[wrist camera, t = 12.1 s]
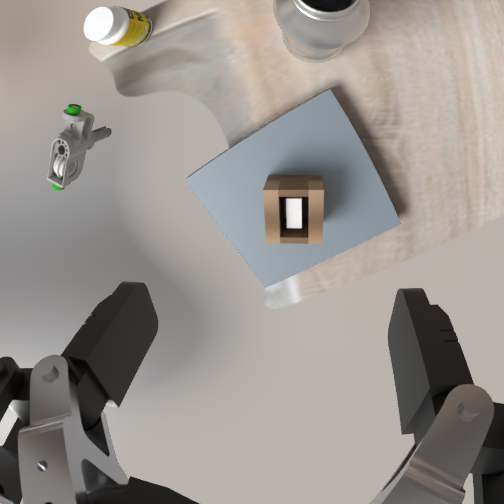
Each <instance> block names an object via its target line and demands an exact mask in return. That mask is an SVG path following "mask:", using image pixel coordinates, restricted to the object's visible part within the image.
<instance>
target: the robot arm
mask: <svg viewBox="0 0 504 504" xmlns="http://www.w3.org/2000/svg"><path fill="white" fill-rule="evenodd" d="M157 330H158V318H157V314H156V312H155V309H154V306H153V303H152V300H151V298H150V294H149V292H148V289H147V287H146V285H145V284H144V283H139V282H122V283H121V284H120V285H119V286H118V287H117V289H116V290H115V291H114V292H113V294H112V295H110V296H108V297H107V298H106V299H104V300H103V301H102V302H100V303H99V304H98V305H97V307H96V308H95V309H94V310H93V312H92V313H91V316H89V317H88V318H87V320H86V321H85V324H84V325H82V327H81V328H80V329H79V331H78V332H77V333H76V335H75V336H74V338H73V339H72V340H71V342H70V343H69V344H68V346H67V347H66V349H65V350H64V352H63V353H62V354H61V356H59V355H51V356H48V357H45V358H43V359H42V360H40V361H39V362H38V363H37V364H36V366H35V367H34V368H19V367H18V365H17V364H16V362H15V361H14V360H13V358H11V357H2V358H0V421H1V419H2V418H3V416H4V414H5V412H6V410H7V408H8V407H9V408H10V409H11V410H12V411H13V412H14V413H15V415H16V416H18V418H17V420H16V422H15V424H14V426H13V428H12V430H11V431H10V433H9V435H8V437H7V439H6V441H5V443H4V445H3V446H0V504H20V502H21V499H22V497H23V504H199V503H197V502H195V501H192V500H191V499H189V498H187V497H185V496H183V495H181V494H179V493H177V492H175V491H173V490H171V489H169V488H167V487H164V486H160V485H157V484H153V483H149V482H147V481H143V480H140V479H137V478H134V477H131V476H130V478H129V480H128V478H127V476H126V474H125V473H124V471H123V470H122V468H121V467H120V465H119V463H118V461H117V458H116V455H115V451H114V448H113V444H112V440H111V436H110V432H109V428H108V424H107V419H106V415H105V413H104V411H103V409H104V407H105V405H109V406H113V407H116V408H119V406H120V404H121V402H122V400H123V398H124V396H125V394H126V392H127V390H128V388H129V386H130V384H131V382H132V380H133V378H134V376H135V374H136V372H137V370H138V368H139V367H140V365H141V363H142V361H143V359H144V357H145V355H146V353H147V351H148V349H149V347H150V345H151V343H152V342H153V340H154V338H155V336H156V333H157ZM388 346H389V351H390V356H391V362H392V367H393V373H394V380H395V386H396V392H397V399H398V407H399V414H400V421H401V431H402V435H403V434H412V433H414V439H415V444H414V445H413V446H412V448H411V449H410V451H409V452H408V454H407V455H406V457H405V458H404V460H403V461H402V462H401V464H400V465H399V467H398V468H397V470H396V471H395V472H394V474H393V475H392V476H391V478H390V479H389V480H388V482H387V483H386V485H385V486H384V487H383V488H382V490H381V491H380V492H379V493H378V494H377V496H376V497H375V498H374V499H373V500H372V501H371V502H370V503H369V504H462V502H463V499H464V497H465V490H464V489H463V485H464V483H465V480H466V478H467V477H468V474H469V473H473V484H474V485H473V486H474V504H504V404H501V403H495V402H493V401H492V399H491V397H490V396H489V394H488V393H487V392H486V391H485V390H484V389H482V388H481V387H479V386H476V385H474V383H473V380H472V377H471V374H470V371H469V368H468V366H467V363H466V360H465V357H464V354H463V351H462V349H461V346H460V344H459V343H458V338H457V336H456V333H455V332H454V328H453V326H452V324H451V321H450V319H449V316H448V315H447V314H446V313H445V312H444V311H443V310H442V309H441V308H440V307H439V306H438V305H430V304H429V301H428V299H427V296H426V294H425V292H424V290H423V289H422V288H411V289H410V288H408V289H399V290H398V291H397V294H396V299H395V303H394V307H393V312H392V316H391V320H390V324H389V329H388Z"/></svg>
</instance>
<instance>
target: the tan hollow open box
mask: <svg viewBox="0 0 504 504" xmlns="http://www.w3.org/2000/svg"><path fill="white" fill-rule="evenodd" d="M282 197H308V218H302V228H287V218H283V202H282ZM263 200H264V216H265V232H266V243H292V244H322V243H323V212H324V188H323V182H322V176H321V175H268V177H267V180H266V183H265V186H264V188H263Z"/></svg>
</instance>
